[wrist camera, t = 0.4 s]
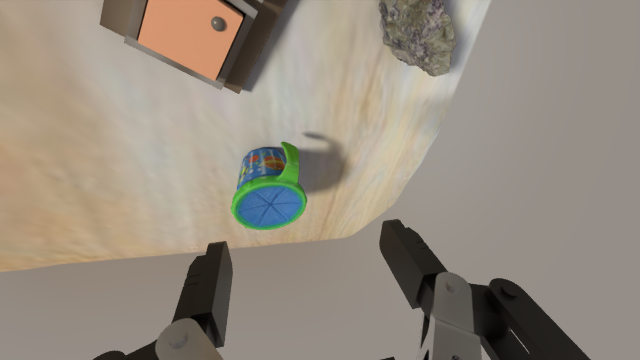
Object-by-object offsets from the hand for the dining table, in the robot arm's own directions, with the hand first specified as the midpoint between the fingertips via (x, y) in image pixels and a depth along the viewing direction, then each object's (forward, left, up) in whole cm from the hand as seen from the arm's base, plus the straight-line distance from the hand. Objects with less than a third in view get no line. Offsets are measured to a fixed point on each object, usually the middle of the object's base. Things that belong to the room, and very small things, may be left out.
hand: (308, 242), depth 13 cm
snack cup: (+8, -15, -27) cm, 32 cm away
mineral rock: (+12, +15, -27) cm, 33 cm away
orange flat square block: (-8, 0, -24) cm, 25 cm away
